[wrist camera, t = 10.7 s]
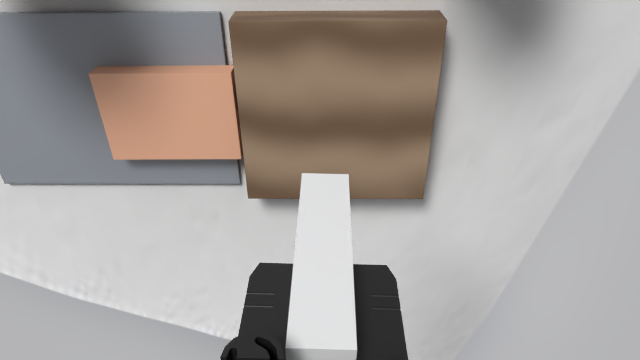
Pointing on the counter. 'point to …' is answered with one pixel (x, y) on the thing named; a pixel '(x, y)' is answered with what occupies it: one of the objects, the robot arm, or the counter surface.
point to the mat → (92, 93)
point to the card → (169, 111)
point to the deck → (337, 98)
